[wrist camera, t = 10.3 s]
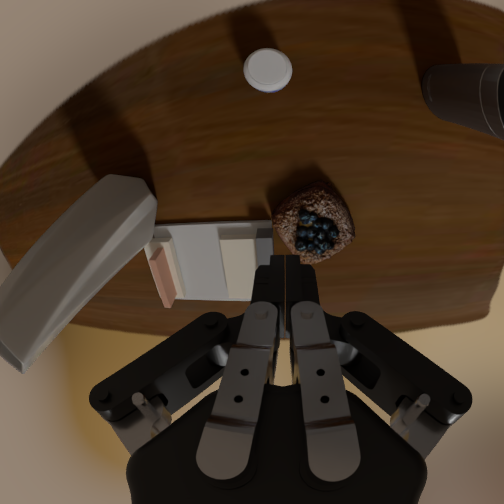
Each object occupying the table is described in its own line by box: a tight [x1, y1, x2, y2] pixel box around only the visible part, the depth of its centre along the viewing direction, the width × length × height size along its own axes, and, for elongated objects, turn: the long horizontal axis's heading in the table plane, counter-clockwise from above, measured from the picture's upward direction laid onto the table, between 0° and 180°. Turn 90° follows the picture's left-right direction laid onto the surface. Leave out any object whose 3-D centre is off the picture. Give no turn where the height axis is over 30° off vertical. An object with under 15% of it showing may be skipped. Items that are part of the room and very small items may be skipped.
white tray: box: [154, 220, 274, 301], centre depth 46 cm, size 20×16×4 cm
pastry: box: [271, 180, 355, 265], centre depth 40 cm, size 11×12×6 cm
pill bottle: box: [244, 48, 292, 93], centre depth 27 cm, size 5×5×10 cm
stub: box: [144, 237, 186, 308], centre depth 46 cm, size 5×12×5 cm, turn 4°
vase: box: [0, 174, 158, 374], centre depth 29 cm, size 12×12×33 cm
